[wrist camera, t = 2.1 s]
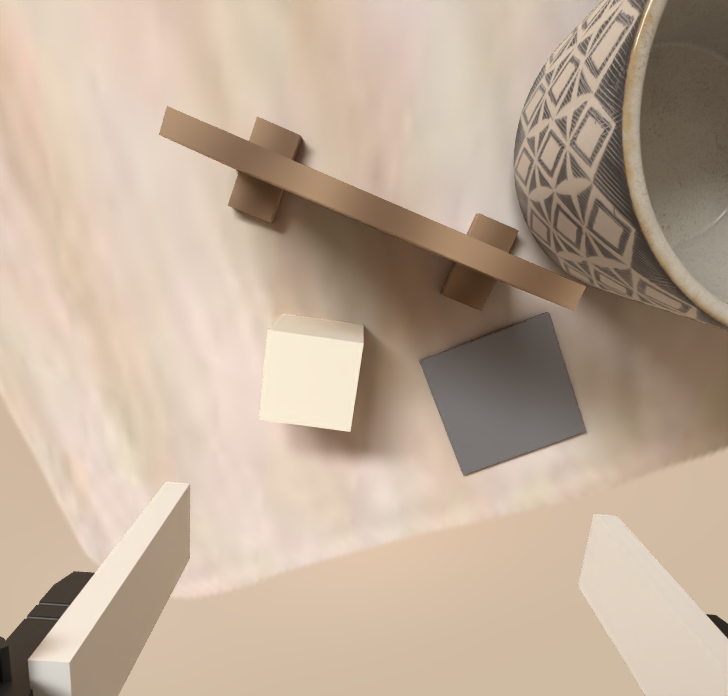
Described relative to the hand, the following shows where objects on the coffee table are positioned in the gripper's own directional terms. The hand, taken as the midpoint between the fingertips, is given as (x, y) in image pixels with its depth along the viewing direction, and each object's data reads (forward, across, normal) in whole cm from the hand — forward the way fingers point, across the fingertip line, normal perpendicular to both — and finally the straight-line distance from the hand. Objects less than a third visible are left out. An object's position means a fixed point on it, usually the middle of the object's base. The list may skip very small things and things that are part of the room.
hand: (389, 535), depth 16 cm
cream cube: (+22, -4, 0) cm, 22 cm away
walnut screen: (+22, -1, +10) cm, 24 cm away
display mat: (+22, +10, -2) cm, 24 cm away
